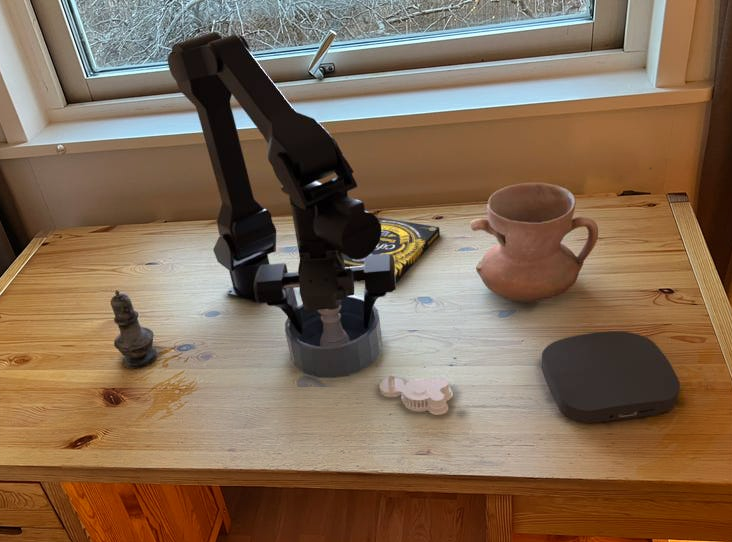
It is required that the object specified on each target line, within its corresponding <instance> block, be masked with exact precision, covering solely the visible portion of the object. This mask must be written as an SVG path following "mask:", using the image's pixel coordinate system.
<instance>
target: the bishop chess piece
mask: <svg viewBox="0 0 732 542" xmlns="http://www.w3.org/2000/svg"><path fill="white" fill-rule="evenodd" d="M114 294H115V295H113V296H112V297H111V299H110V306H111V309H112V311H113V315H114V318H113V322H114V323H115V324H116V325H117V327H118V330H119V333H120V334H118V335H117V336H116V338H115V339H114V342H113V345H114V347H115V349H116V350H118V352H119V353H120V354H121V355H122V356H124V357H123V359H122V363H123V365H124V367H126V368H127V369H137V370H138V369H141V368H142V369H143V368H146V367H147V366H149V365H151V364H153V363H154V362H155V361H156V360H157V358H158V356H159V352H158V350H157V349H156V348H155V347H153V345H154V344H153V343H154V335H155V334H154V331H153V330H152V329H151V328H149V327H144V326H142V325H141V324H140V321H139V319H138V318H139V312H138V311H136V310H135V309H134V306H133V303H132V301H131V298H130V296H129V295H128V294H126V293H121V292H120V291H119V290H115V291H114Z"/></svg>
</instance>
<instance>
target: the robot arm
mask: <svg viewBox="0 0 732 542" xmlns="http://www.w3.org/2000/svg"><path fill="white" fill-rule="evenodd" d="M167 65H168V69H169V72H170V74H171V76H172V78H173V80H175V82H176V85H177V88H178V90H179V92H180V93H181V94H182V95H183V96H184V97H185V98H186V99H187V100H189V102H190V103H191V104H192V105H194V107H195V108H196V113H197V117H198V119H199V124H200V126H201V127H200V128H201V131H202V134H203V137H204V142H205V146H206V148H207V149H206V150H207V153H208V157H209V160H210V164H211V167H212V170H213V171H212V172H213V174H214V178H215V181H216V185H217V188H218V192H219V196H220V200H221V206H220V209H219V213H218V216H217V219H216V225H217V230H218V234H219V236H218V239H217V240H216V242H215V245H214V247H213V248H212V250H213V254H214V257H215V258H216V261H217V263H219V264H220V265H221V266H223V267H224V268H225V269H227V270H228V272H229V277H230V280H231V284H232V287H231V288H230V289H228V290H227V296H228V297H229V296H230V297H233V298H238V299H240V300H244V301H249V302H252V303H258V304H266V305H267V306H268V307H276V308H278V309H280V310H281V311H282V312H283V313H284V314H285V316H286V317H287V318H289V319H290V321H291V322H292V324H293V325H294V327H295V328H296V330H297V331H298V333H299V334H302V331H303V328H302V320H301V316H300V312H299V308H298V306H299V305H298V301H297V296H296V291H295V288H299V291H298V292H299V295H300V300H301V302H302V304H303V306H304V309H305V310H307V311H315V310H322V309H329V310H333V309H337V308H338V307H339V306H340V304H341V300H344V299H347V296H351V295H353V296H355V283H356V282H364V287H363V288H364V289H363V290H364V291H363V298H364V314H363V323H364V328H365V329H366V328H367V327H368V324H369V320H370V316H371V312H372V308H373V306H375V303H376V301H377V300H378V299H379V298H384V297H385V296H387V293H393V292H395V291H396V290H397V283H396V280H395V262H394V257H393V256H392V255H390V254H379V255H370V254H371V253H372V252H373V251H374V250H375V248H376V247H377V245H378V243H379V241H380V237H381V229H382V228H381V224H380V223H379V221H378V218H377V217H378V216H376V215H375V214H374V213H371V212H370V211H367V210H366V209H365V203H364V202H363V201H361V200H359V199H355V198H352V197H350V196H349V195H348V192H349V191H353V190H354V189H357V187H358V184H357V182H356V179H355V177H354V175H353V174H354V172H355V171H354V170H353V168H352V166H351V165H350V163H349V162H348V160H347V158H346V157H345V155H344V154H343V152H342V150H341V149H340V146H339V144H338V142H337V141H336V139H335V138H334V137H333V136H332V135H331V134H330V133H329V132H328V130H326V128H325V127H323V125H321V123H319V122H318V121H317V120H316V119H315V118H313V117H310V116H308V115H306V114H302V113H300V112H298V110H297V111H296V109H295V108H294V107H293V106H292V105H291V104H290V102H289V101H288V99H287V98H286V97H285V96H284V94H283V93H282V91H281V90H280V89H279V88H278V87H277V85H276V83H274V81H273V80H272V79H271V78H270V77H269V75H268V74H267V73H266V71H265V70H264V69H263V68H262V66H261V64H260V63H259V62H258V61H257V60H256V58H255V57H254V55H253V54H252V53H251V50H250V46H249V44H248V42H247V40H246V38H245V37H244V36H243V35H241V34H238V35H237V34H231V35H227V36H225V37H222V36H221V35H220V34H219V33H218V32H216V31H212V32H209V33H206V34H202V35H200V36H196V37H193V38H190V39H186V40H183V41H180V42H176V43H173V44H172V46H171V52H170V53H169V54H168V56H167ZM232 96H233V98H234V99H235V100H236V102H237V103H238V104H239V106H240V107H241V108H242V110H243V111H244V112H245V114H246V115H247V117H248V118H249V119H250V120H251V122H252V123H253V124H254V126H255V127H256V129H258V131H259V132H260V134H261V136H263V138H264V141H266V143H267V160H268V162H269V164H270V166H271V167H272V171H273V173H274V176H275V177H276V178H277V180H278V181H279V183H280V185H282V186H280V190H281V192H282V193H283V194H285V195H287V196H288V199H289V204H290V205H289V206H290V210H291V215H292V221H293V227H294V232H295V238H296V244H297V251H298V254H299V255H298V257H299V262H298V268H297V271H292V272H288V266H287V264H286V262H282V263H281V262H280V263H271V264H270V259H269V255H270V254H274V253H276V252H277V228H276V225H275V223H274V222H273V217H272V214H271V212H270V211H269V210H268V209H266V208H264V206H263V205H261V204H260V203H259V202H258V200H256V199H255V196H254V193H253V188H252V184H251V180H250V176H249V172H248V169H247V165H246V160H245V156H244V153H243V149H242V145H241V141H240V140H241V139H240V135H239V132H238V128H237V125H236V121H235V117H234V112H233V109H232V103H231V99H232ZM334 174H335V175H336V176H337V177H334V178H332V179H329V180H328V181H325V182H323V183H322V182H319V181H320V180H322V179H325V178H327V177H330V176H333V175H334ZM343 254H344V255H346V256H348V257H349V258H352V259H356V260H359V259H363V258H365V261H364V266H356V267H345V263H344V255H343Z"/></svg>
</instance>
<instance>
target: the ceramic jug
mask: <svg viewBox="0 0 732 542" xmlns="http://www.w3.org/2000/svg"><path fill="white" fill-rule="evenodd" d="M576 202H577V201H576V197H575V195H574V194H573V193H572V192H571V191H570V190H569V189H566V188H565V187H561V185H560V186H559V185H556V184H550V183H546V182H521V183H516V184H511V185H508V186H505V187H503V188H500V189H498V190H496V191H495V192H493V193H492V194H491V195H490V196H489V198H488V199H487V206H486V210H487V217H488V219H487V218H477V219H474V220H472V221H471V222H470V229H471V230H472V231H473V232H477V231H484V232H486V233H487V234H489V235H492V236H494V237H495V239H496V241H497V244H495V245H494V246H492V247H491V248H490V249H489V250H487V251H486V253H485V254H484V256H483V257H482V259H481V261H478V263H477V264H476V266H475V270H476V273H477V274H478V275H479V277H480V279H481V281H482V283H483V284H484V285H485V287H486V288H487V289H488V290H489V291H490V292H492V293H493V294H495V295H497V296H499V297H502V298H503V299H506V300H510V301H515V302H523V303H524V302H525V303H526V302H527V303H531V302H532V303H533V302H541V301H547V300H550V299H554V298H555V297H558V296H560V295H562V294H564V293H566V292H567V291H568V290H570V289H571V288H572V287H573V286H574V284H575V283H576V281H577V280H578V277H579V274H580V271H581V270H582V268H583V265H584V264H585V263H584V262H585V261H586V259H587V258H588V256H589V255H590V254H591V252H592V251H593V249H594V248H595V246H596V243H597V242H598V238H599V227H598V224H597V223H596V221H595V220H594V219H592V218H590V217H589V216H581V215H580V216H576V217H574V214H575V211H576ZM573 217H574V218H573ZM583 227H585V228H586V229H587V234H588V235H587V239H586V241H585V243H584V245H583V247H582V249H581V250H580V252H579V253H578V254H577V256H576V254H575V253H574V252H573V251H572V249H570V248H569V247H568V246H566V245H565V244H564V243H562V241H563V240H564V237H566V235H567V234H569V233H571V232H572V231H574V230H576V229H579V228H583Z"/></svg>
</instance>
